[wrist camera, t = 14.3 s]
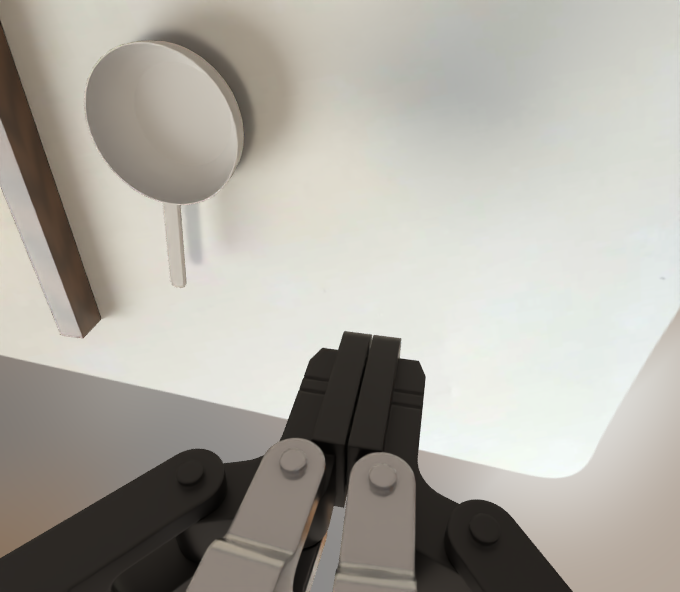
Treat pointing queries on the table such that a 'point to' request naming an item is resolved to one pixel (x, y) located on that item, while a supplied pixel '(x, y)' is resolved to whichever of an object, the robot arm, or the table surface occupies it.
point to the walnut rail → (40, 209)
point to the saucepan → (164, 129)
